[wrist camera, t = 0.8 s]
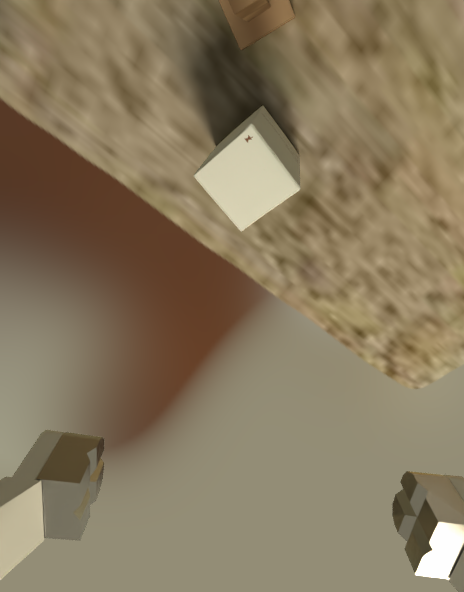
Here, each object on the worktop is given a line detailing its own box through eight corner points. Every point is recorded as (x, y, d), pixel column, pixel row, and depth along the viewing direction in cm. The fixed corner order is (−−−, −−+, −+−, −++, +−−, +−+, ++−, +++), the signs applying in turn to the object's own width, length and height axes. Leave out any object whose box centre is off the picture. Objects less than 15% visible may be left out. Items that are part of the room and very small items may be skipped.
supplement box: (214, 146, 48) (189, 174, 37) (263, 103, 45) (252, 119, 34) (252, 195, 50) (239, 234, 39) (301, 157, 47) (302, 188, 36)
